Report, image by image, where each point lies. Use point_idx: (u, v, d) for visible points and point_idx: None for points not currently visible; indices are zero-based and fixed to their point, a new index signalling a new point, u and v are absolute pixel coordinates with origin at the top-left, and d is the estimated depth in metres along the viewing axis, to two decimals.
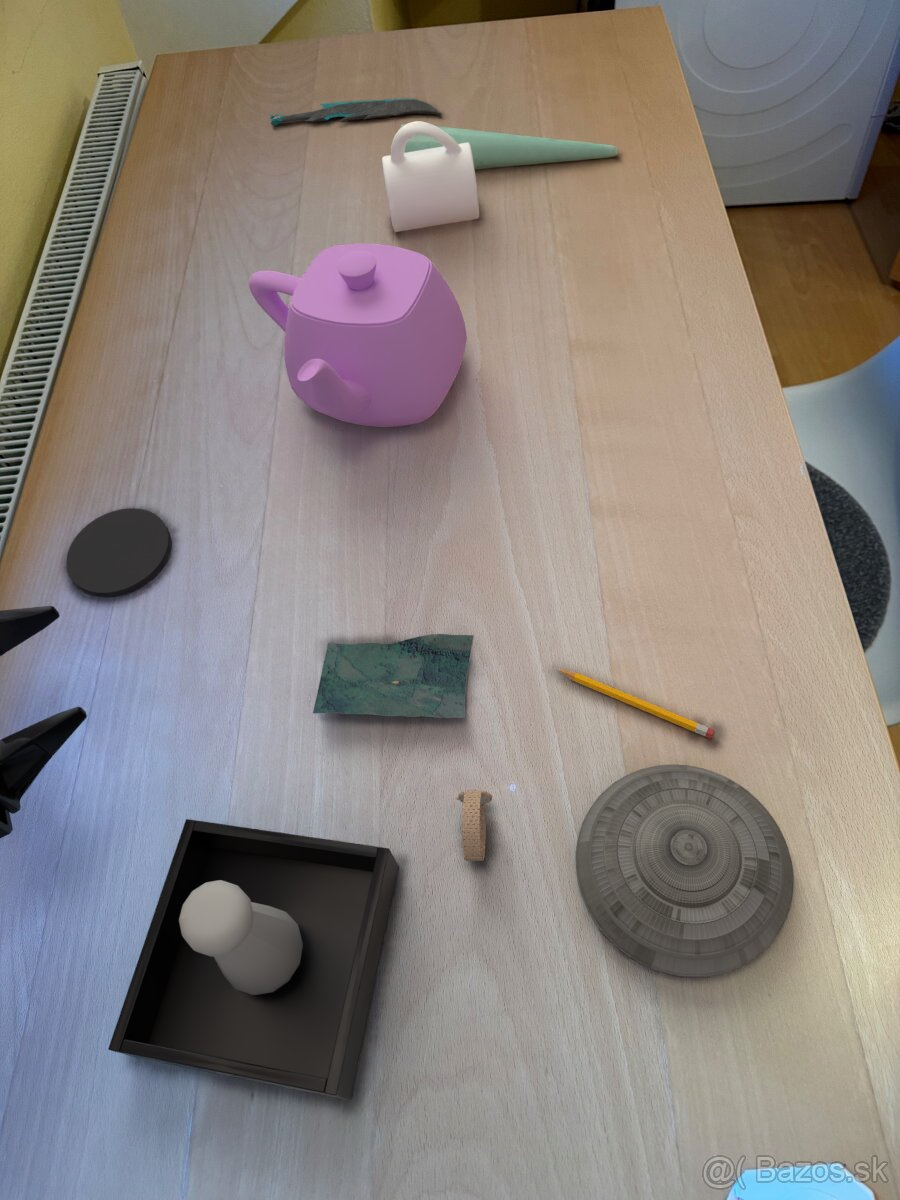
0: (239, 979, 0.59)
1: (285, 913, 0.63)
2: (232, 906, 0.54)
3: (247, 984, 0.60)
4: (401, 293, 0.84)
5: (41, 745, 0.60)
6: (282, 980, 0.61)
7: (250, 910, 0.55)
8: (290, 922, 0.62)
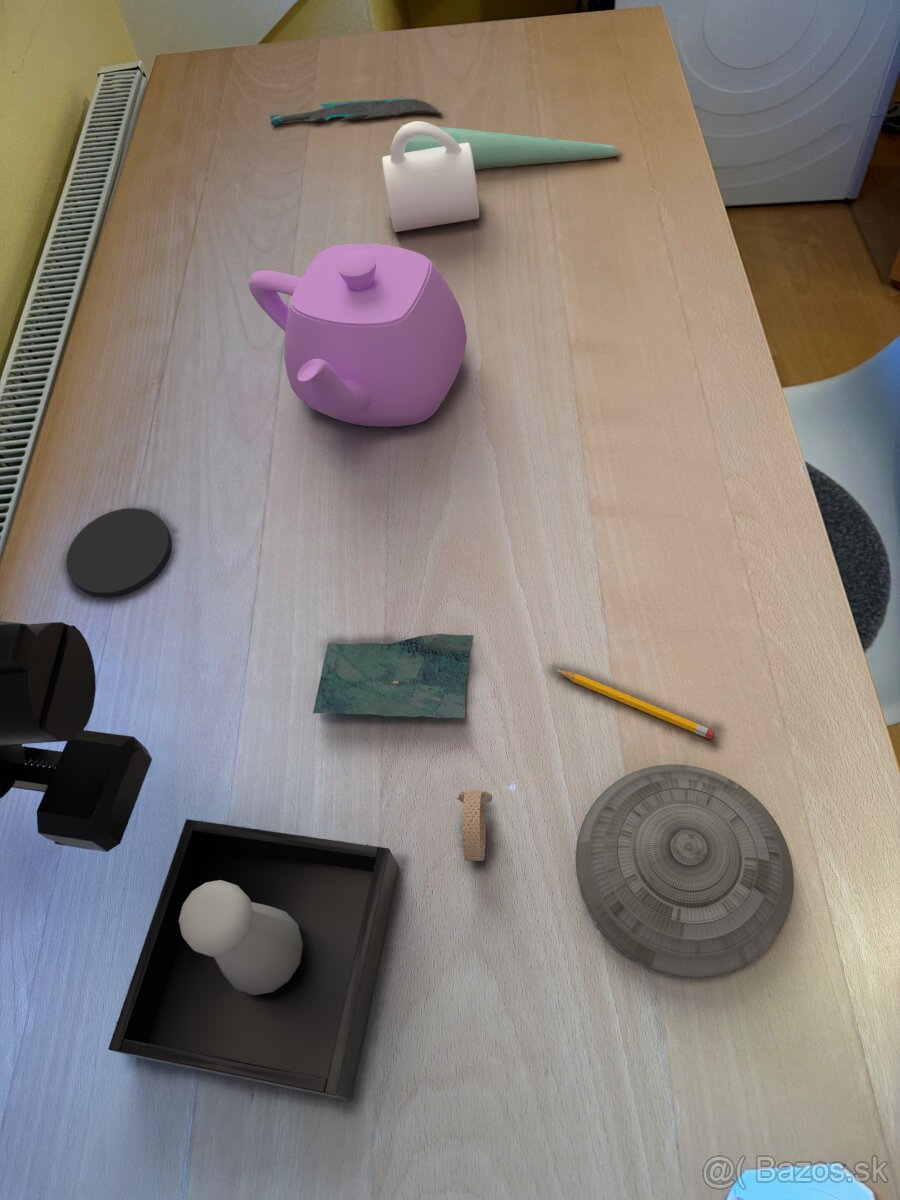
0: (239, 979, 0.59)
1: (285, 913, 0.63)
2: (232, 906, 0.54)
3: (247, 984, 0.60)
4: (401, 293, 0.84)
5: None
6: (282, 980, 0.61)
7: (250, 910, 0.55)
8: (290, 922, 0.62)
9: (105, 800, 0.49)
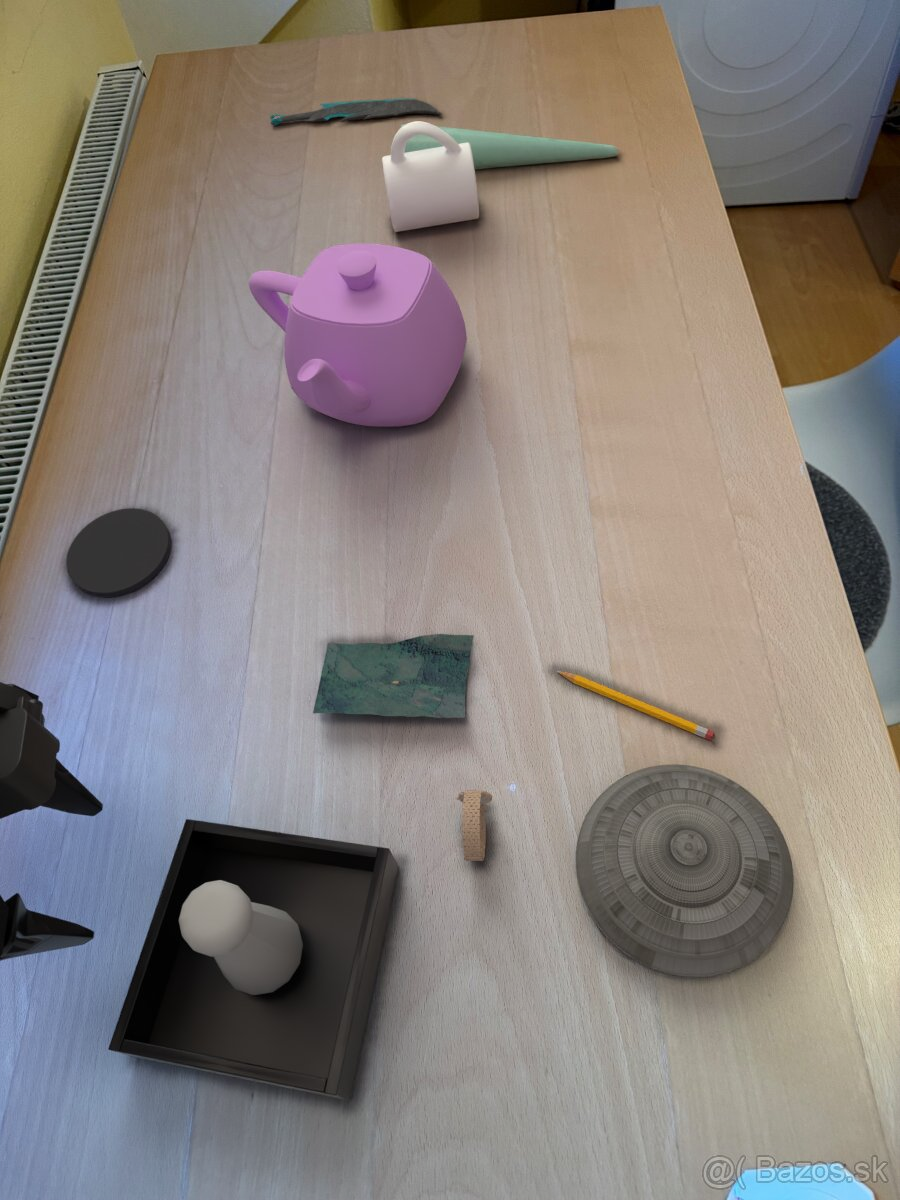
0: (239, 979, 0.59)
1: (285, 913, 0.63)
2: (232, 906, 0.54)
3: (247, 984, 0.60)
4: (401, 293, 0.84)
5: (41, 943, 0.52)
6: (282, 980, 0.61)
7: (250, 910, 0.55)
8: (290, 922, 0.62)
9: None
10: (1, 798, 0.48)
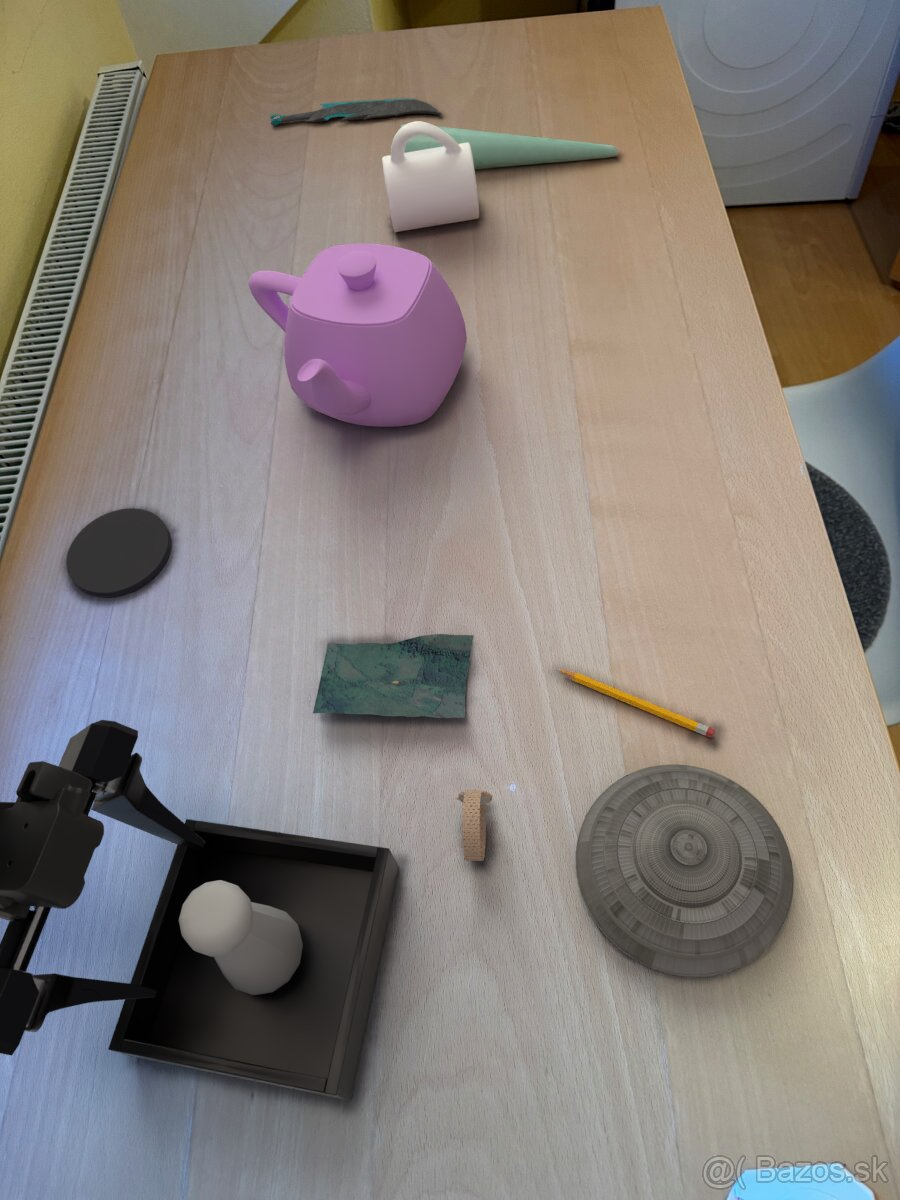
0: (239, 979, 0.59)
1: (285, 913, 0.63)
2: (232, 906, 0.54)
3: (247, 984, 0.60)
4: (401, 293, 0.84)
5: None
6: (282, 980, 0.61)
7: (250, 910, 0.55)
8: (290, 922, 0.62)
9: None
10: (25, 898, 0.47)
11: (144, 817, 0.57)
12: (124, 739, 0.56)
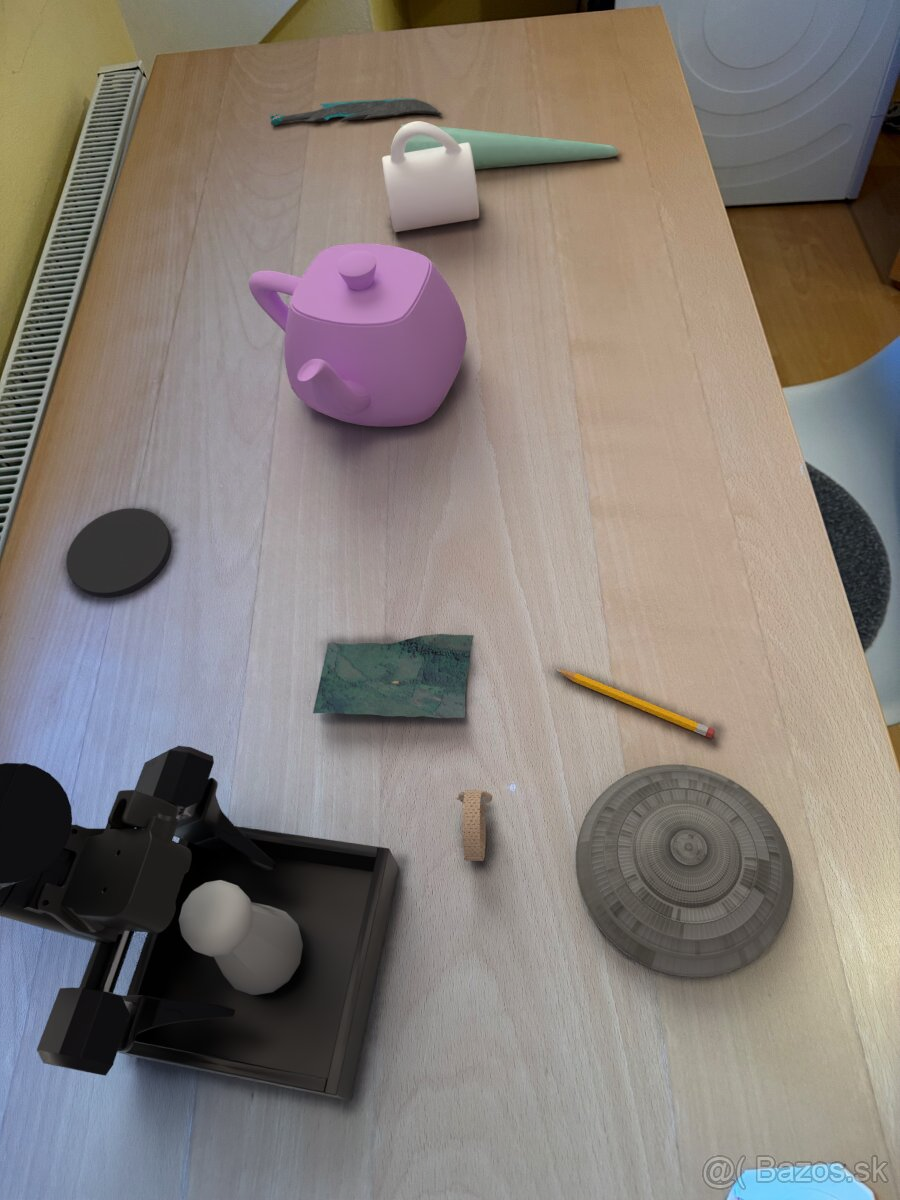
0: (239, 979, 0.59)
1: (285, 913, 0.63)
2: (232, 906, 0.54)
3: (247, 984, 0.60)
4: (401, 293, 0.84)
5: None
6: (282, 980, 0.61)
7: (250, 910, 0.55)
8: (290, 922, 0.62)
9: (45, 1056, 0.50)
10: (120, 924, 0.48)
11: (219, 840, 0.59)
12: (201, 765, 0.57)
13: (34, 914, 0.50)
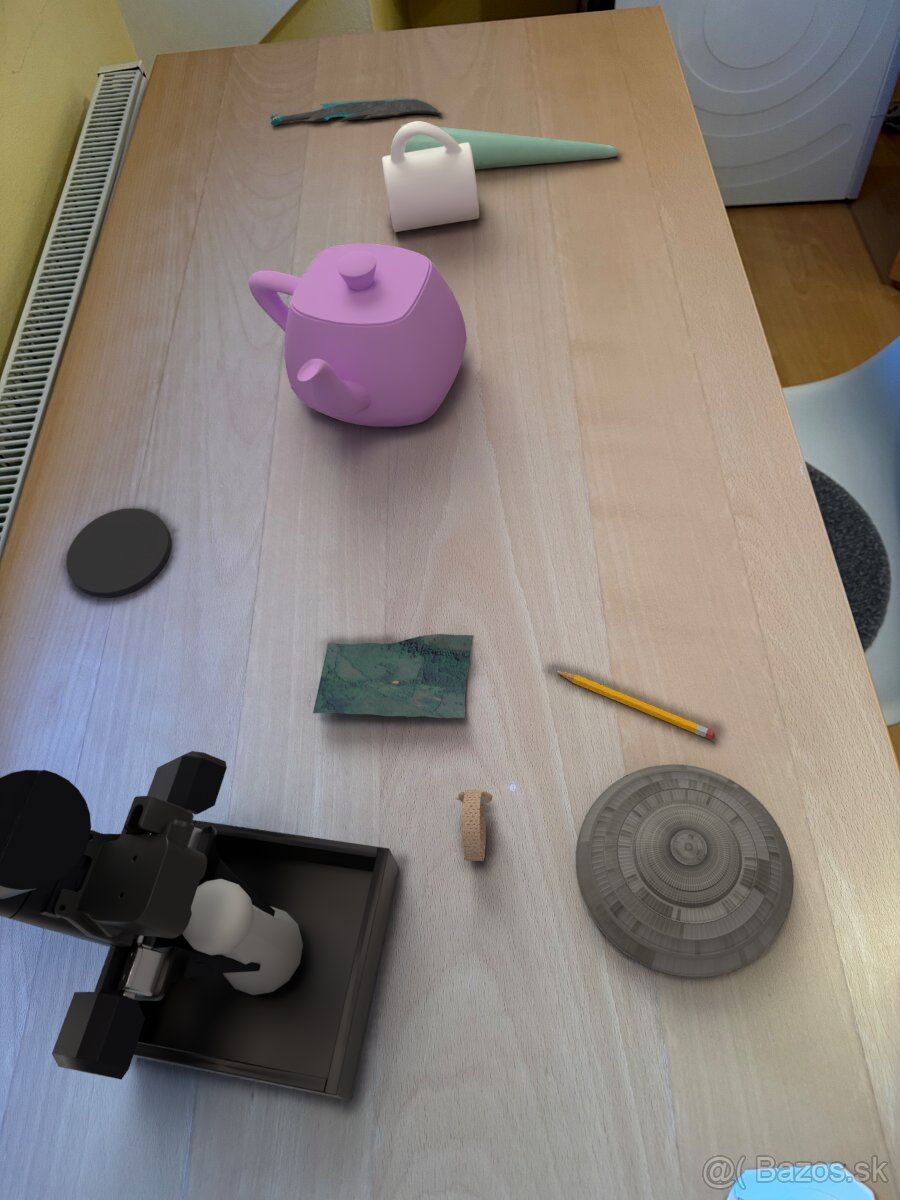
0: (239, 978, 0.59)
1: (285, 913, 0.63)
2: (232, 905, 0.54)
3: (247, 983, 0.60)
4: (401, 293, 0.84)
5: None
6: (282, 980, 0.61)
7: (250, 909, 0.55)
8: (290, 922, 0.62)
9: (60, 1059, 0.51)
10: (136, 929, 0.49)
11: None
12: (214, 770, 0.58)
13: (50, 919, 0.51)
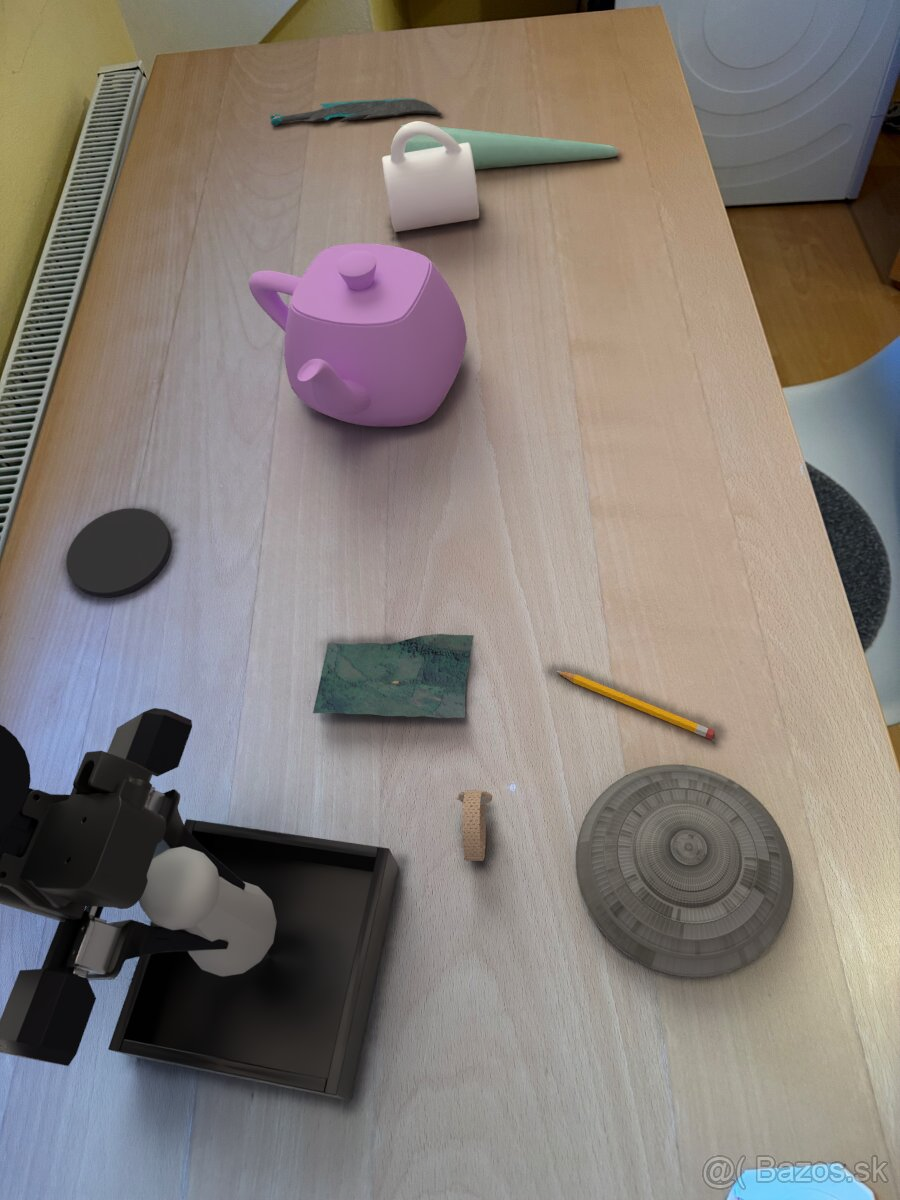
0: (205, 958, 0.54)
1: (258, 888, 0.58)
2: (196, 874, 0.49)
3: (215, 963, 0.54)
4: (401, 293, 0.84)
5: None
6: (253, 960, 0.56)
7: (216, 879, 0.50)
8: (262, 897, 0.57)
9: (1, 1044, 0.46)
10: (85, 898, 0.43)
11: None
12: (178, 728, 0.52)
13: None
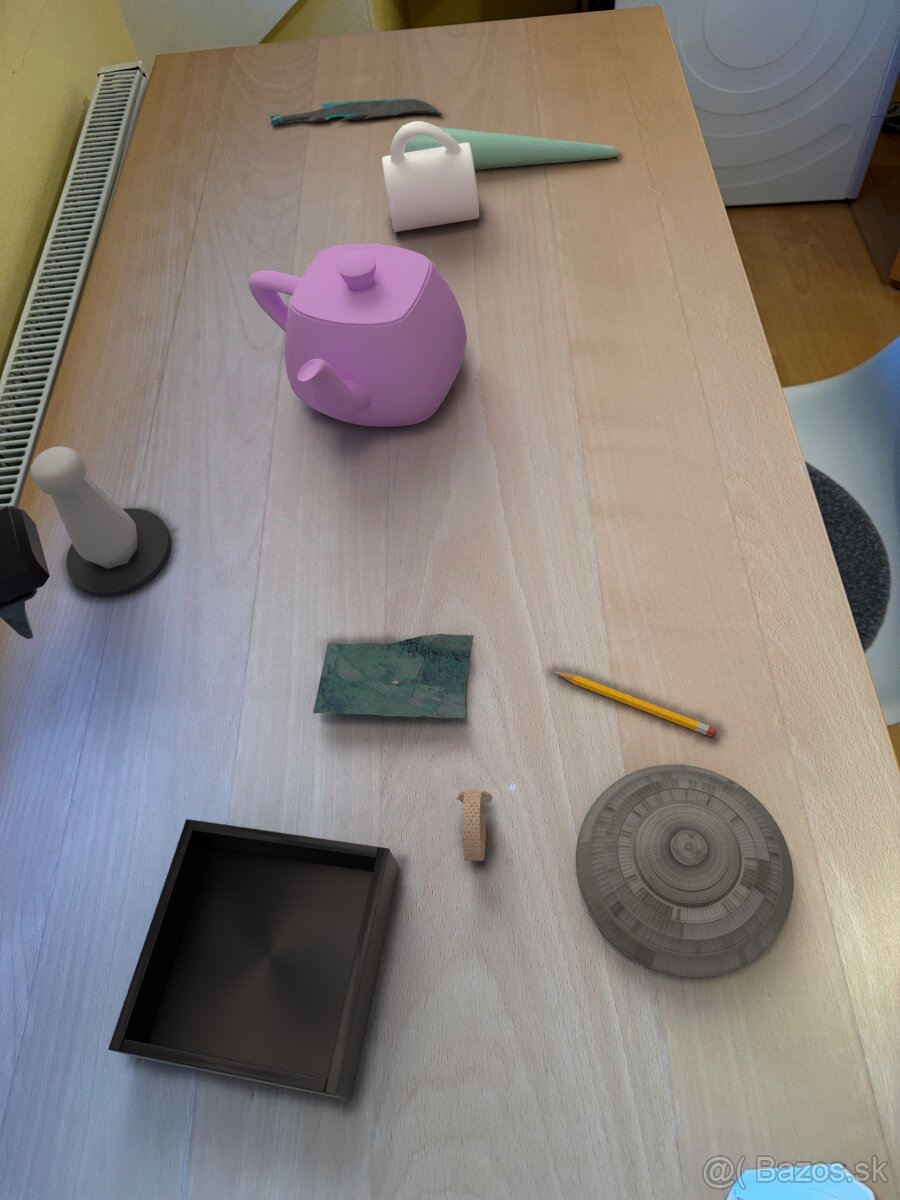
0: (113, 526, 0.81)
1: None
2: (56, 448, 0.76)
3: (119, 528, 0.82)
4: (401, 293, 0.84)
5: None
6: (132, 521, 0.84)
7: None
8: None
9: (21, 539, 0.59)
10: None
11: None
12: None
13: None
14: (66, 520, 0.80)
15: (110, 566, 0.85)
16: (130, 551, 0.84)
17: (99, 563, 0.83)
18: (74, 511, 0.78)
